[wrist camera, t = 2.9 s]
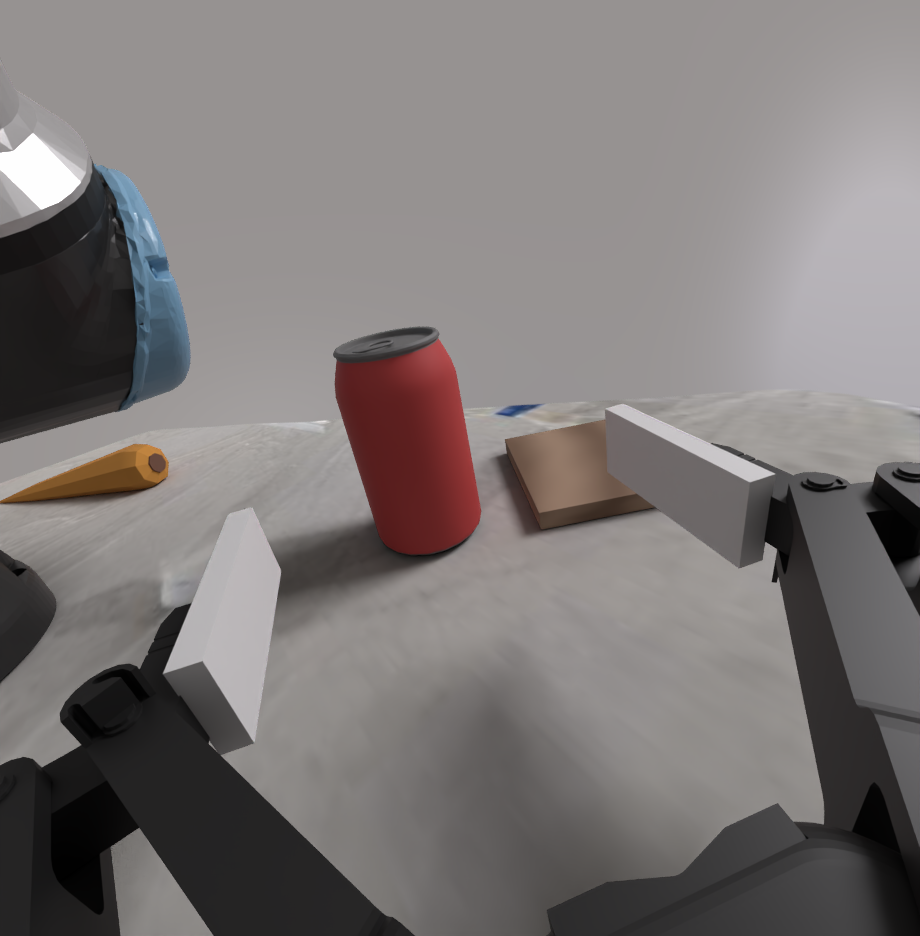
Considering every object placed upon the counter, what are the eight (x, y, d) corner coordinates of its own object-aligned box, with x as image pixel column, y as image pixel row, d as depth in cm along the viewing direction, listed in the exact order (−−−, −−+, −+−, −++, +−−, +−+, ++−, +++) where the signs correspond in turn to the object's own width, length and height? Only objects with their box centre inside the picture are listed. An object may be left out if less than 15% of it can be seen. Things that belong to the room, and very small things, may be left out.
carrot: (182, 482, 45) (170, 438, 45) (144, 489, 41) (130, 440, 40) (26, 519, 49) (14, 479, 48) (-25, 529, 44) (-39, 485, 44)
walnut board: (541, 529, 26) (539, 512, 26) (506, 452, 36) (504, 439, 36) (723, 493, 27) (725, 476, 26) (639, 426, 36) (639, 412, 36)
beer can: (363, 532, 30) (304, 351, 24) (443, 490, 33) (407, 322, 27) (415, 577, 25) (355, 364, 19) (504, 523, 28) (473, 325, 22)
